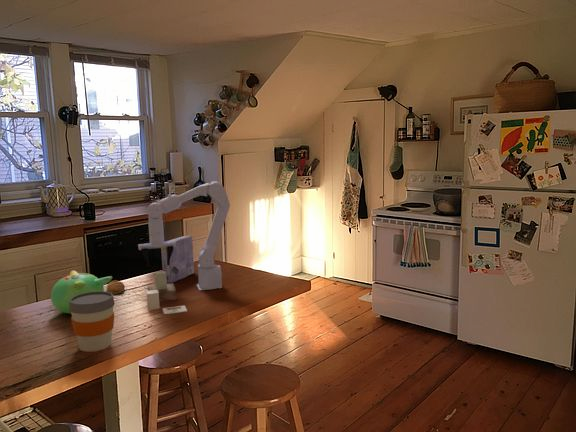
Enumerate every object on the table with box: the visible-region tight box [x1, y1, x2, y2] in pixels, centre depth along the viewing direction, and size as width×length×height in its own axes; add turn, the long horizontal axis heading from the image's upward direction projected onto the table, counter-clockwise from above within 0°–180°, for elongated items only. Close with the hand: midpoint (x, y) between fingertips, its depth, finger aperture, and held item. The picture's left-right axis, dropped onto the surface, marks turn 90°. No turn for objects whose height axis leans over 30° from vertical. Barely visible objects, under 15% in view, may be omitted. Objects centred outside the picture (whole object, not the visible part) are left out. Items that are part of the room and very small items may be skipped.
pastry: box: [106, 280, 126, 295], centre depth 199 cm, size 9×7×4 cm
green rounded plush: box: [50, 270, 113, 315], centre depth 175 cm, size 18×17×15 cm
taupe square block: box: [147, 282, 177, 303], centre depth 191 cm, size 10×10×4 cm
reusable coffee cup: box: [69, 290, 115, 353], centre depth 146 cm, size 13×13×15 cm
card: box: [162, 305, 188, 315], centre depth 176 cm, size 8×6×1 cm
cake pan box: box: [160, 235, 195, 284], centre depth 217 cm, size 19×5×18 cm, turn 158°
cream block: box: [146, 290, 161, 311], centre depth 179 cm, size 4×4×6 cm
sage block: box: [154, 271, 168, 290], centre depth 190 cm, size 4×4×6 cm
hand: (158, 265), depth 198 cm, fingers open, 7 cm apart
